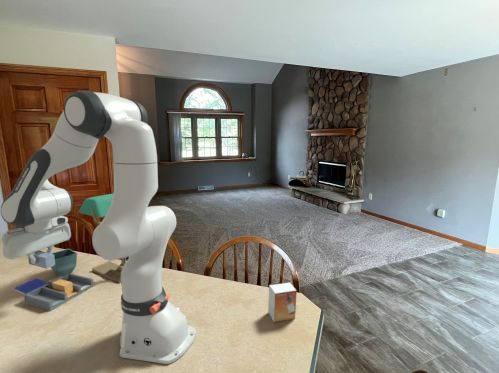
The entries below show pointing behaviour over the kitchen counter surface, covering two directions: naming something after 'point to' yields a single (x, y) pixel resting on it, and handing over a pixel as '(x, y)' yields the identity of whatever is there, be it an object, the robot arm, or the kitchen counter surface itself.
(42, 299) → the grey compartment tray
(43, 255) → the slate-blue plug
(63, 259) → the flower pot
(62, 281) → the orange plug
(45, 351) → the kitchen counter surface
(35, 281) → the hard drive
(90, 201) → the banker's lamp
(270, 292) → the small box
